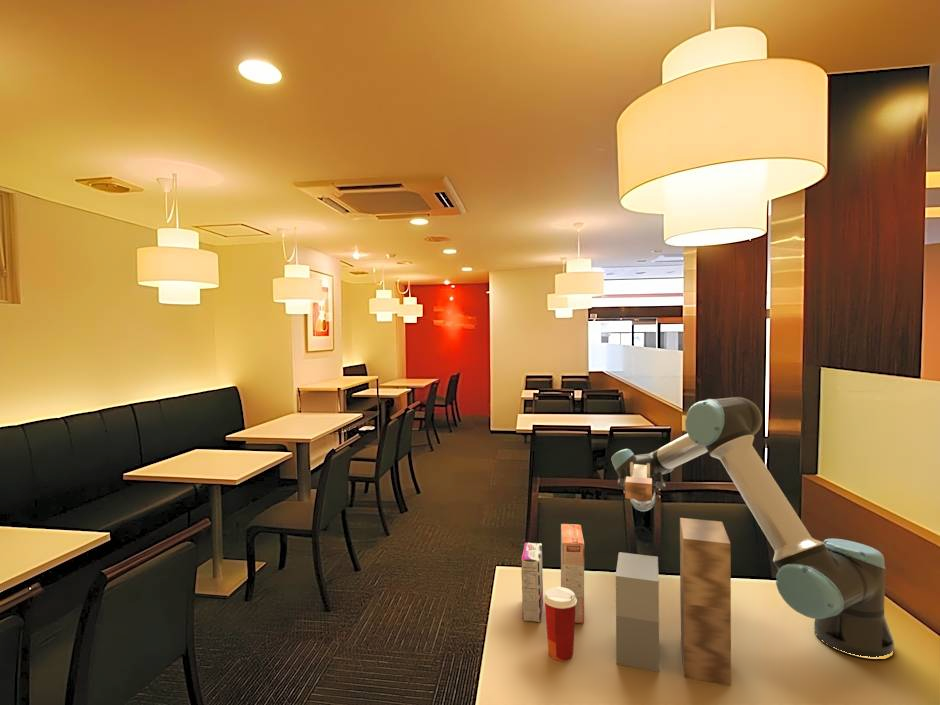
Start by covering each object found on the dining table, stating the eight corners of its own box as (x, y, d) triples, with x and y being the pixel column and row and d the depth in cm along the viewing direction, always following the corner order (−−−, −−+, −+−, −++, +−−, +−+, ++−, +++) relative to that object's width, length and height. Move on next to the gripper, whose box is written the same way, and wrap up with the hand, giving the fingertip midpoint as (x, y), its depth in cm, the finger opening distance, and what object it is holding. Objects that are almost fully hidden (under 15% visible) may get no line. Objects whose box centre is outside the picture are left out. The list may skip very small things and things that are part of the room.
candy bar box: (525, 599, 142) (524, 541, 142) (543, 601, 141) (542, 542, 140) (521, 621, 131) (520, 558, 131) (541, 623, 130) (540, 560, 130)
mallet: (652, 476, 141) (652, 461, 141) (651, 500, 120) (651, 484, 120) (629, 474, 143) (629, 460, 143) (625, 498, 122) (625, 481, 122)
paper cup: (582, 649, 119) (581, 590, 118) (571, 668, 112) (570, 605, 112) (550, 639, 123) (549, 582, 122) (538, 657, 116) (537, 597, 116)
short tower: (658, 638, 123) (657, 556, 122) (659, 672, 110) (658, 581, 110) (619, 631, 126) (618, 552, 125) (616, 663, 113) (615, 575, 113)
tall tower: (722, 649, 118) (722, 521, 117) (730, 685, 106) (730, 543, 105) (680, 642, 121) (679, 517, 120) (684, 676, 109) (683, 538, 108)
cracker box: (585, 624, 129) (585, 543, 128) (561, 623, 130) (560, 542, 129) (582, 596, 143) (581, 523, 142) (560, 595, 144) (559, 522, 143)
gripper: (671, 504, 149) (674, 484, 129) (612, 499, 154) (606, 479, 135) (671, 479, 152) (673, 455, 133) (613, 474, 158) (607, 451, 138)
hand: (639, 467), depth 134 cm, fingers closed on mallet, 3 cm apart
